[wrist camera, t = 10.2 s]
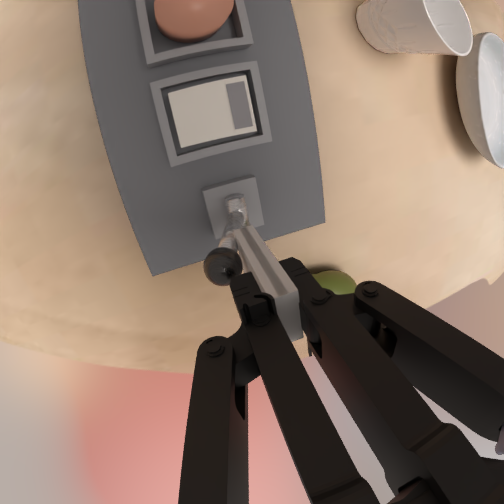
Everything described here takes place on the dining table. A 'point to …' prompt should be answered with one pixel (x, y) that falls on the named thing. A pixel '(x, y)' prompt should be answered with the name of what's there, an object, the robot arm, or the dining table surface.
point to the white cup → (416, 26)
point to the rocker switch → (212, 111)
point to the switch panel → (211, 152)
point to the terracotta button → (191, 18)
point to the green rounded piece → (336, 281)
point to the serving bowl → (483, 95)
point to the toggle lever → (228, 244)
